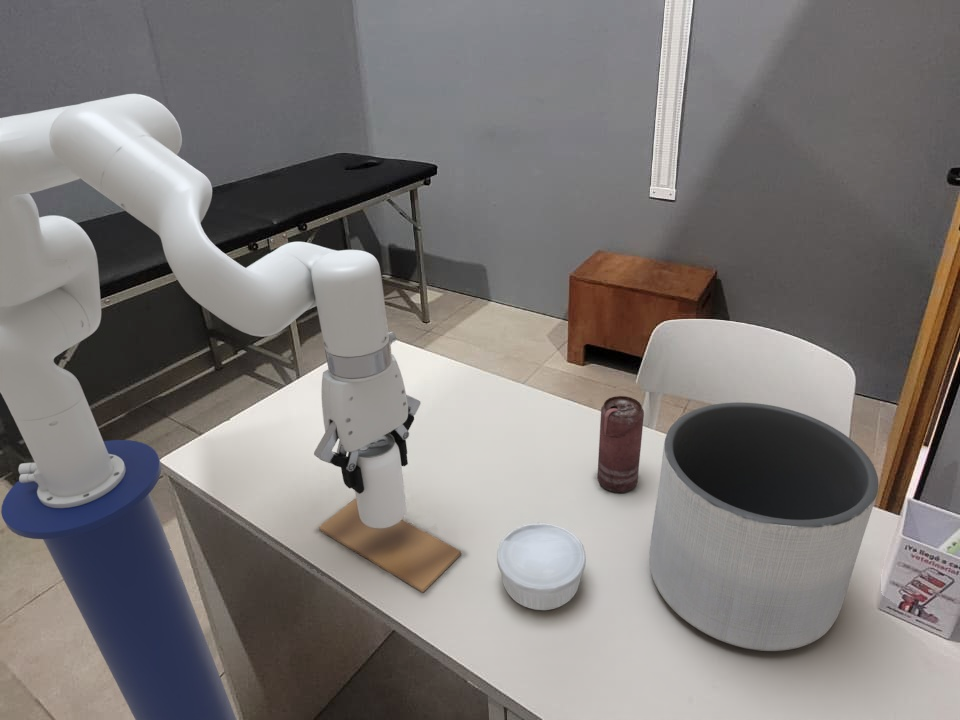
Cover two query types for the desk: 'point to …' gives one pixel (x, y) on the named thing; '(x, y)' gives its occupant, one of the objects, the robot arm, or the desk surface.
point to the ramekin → (541, 565)
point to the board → (393, 547)
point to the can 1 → (381, 484)
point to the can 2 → (620, 443)
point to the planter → (759, 523)
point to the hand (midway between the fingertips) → (377, 473)
